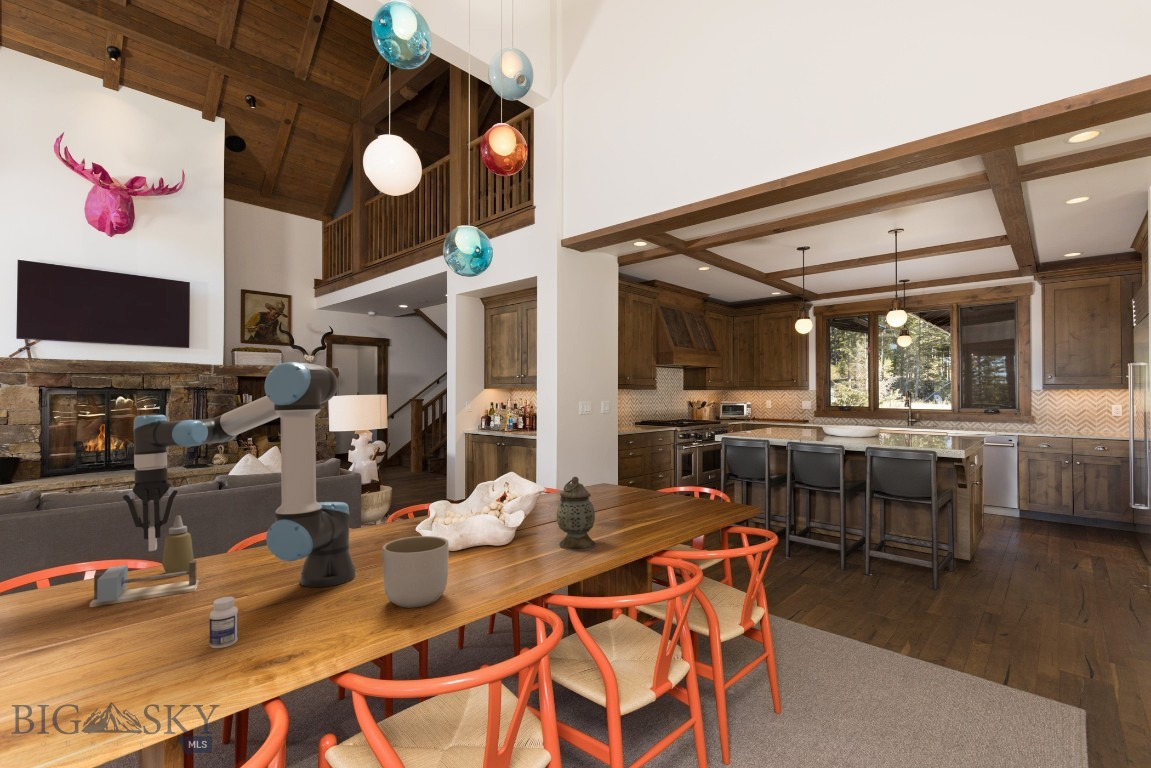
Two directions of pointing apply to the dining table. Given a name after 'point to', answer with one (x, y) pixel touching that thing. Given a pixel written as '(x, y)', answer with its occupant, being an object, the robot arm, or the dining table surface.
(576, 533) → the lantern
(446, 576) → the planter
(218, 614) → the pill bottle
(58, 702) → the dining table surface
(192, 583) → the rail
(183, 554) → the squeeze bottle
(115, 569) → the block
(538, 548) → the dining table surface
